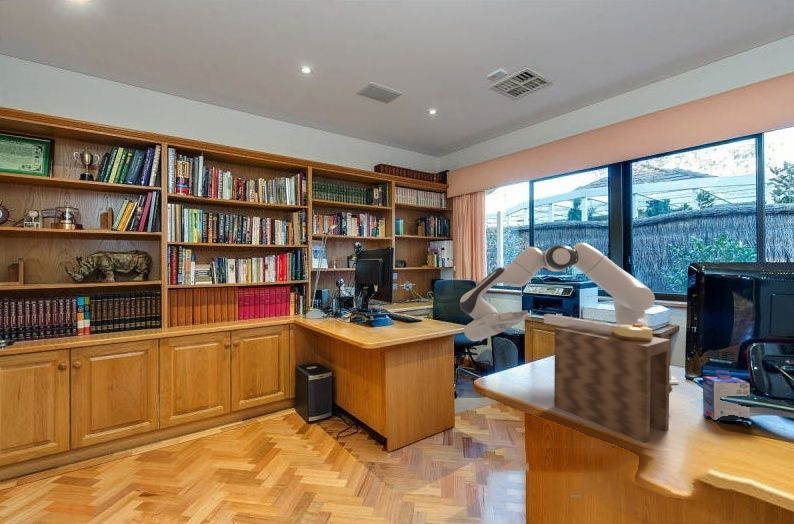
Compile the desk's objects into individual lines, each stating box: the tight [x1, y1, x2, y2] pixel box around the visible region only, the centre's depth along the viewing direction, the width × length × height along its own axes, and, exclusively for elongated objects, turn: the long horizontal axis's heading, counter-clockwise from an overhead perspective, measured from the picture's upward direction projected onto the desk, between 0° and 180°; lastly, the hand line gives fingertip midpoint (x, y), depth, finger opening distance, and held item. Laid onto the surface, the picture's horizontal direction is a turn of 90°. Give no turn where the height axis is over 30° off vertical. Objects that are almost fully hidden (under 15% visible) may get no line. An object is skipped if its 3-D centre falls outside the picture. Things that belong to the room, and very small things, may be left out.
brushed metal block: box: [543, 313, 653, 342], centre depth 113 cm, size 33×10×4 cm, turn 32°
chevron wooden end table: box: [553, 326, 671, 444], centre depth 109 cm, size 27×14×26 cm, turn 32°
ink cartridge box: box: [702, 369, 751, 421], centre depth 108 cm, size 10×6×14 cm, turn 82°
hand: (518, 312), depth 136 cm, fingers open, 8 cm apart
